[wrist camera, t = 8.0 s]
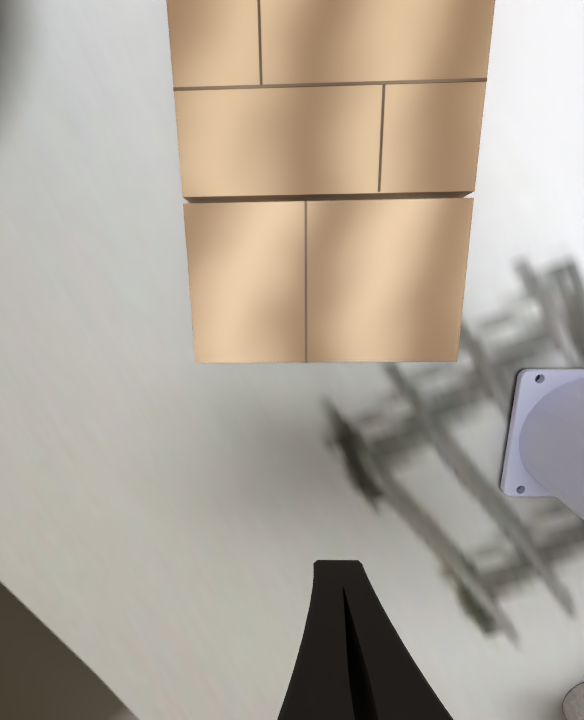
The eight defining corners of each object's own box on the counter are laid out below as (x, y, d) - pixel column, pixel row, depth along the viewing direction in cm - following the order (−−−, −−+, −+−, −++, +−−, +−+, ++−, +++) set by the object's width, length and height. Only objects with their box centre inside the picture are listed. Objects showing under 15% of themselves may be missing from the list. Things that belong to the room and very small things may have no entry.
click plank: (461, 204, 17) (474, 197, 15) (447, 356, 18) (457, 361, 17) (191, 209, 17) (182, 203, 16) (202, 358, 19) (195, 362, 18)
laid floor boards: (484, -23, 14) (501, -51, 13) (462, 197, 17) (474, 190, 15) (174, -10, 15) (163, -36, 14) (190, 202, 17) (182, 196, 16)
